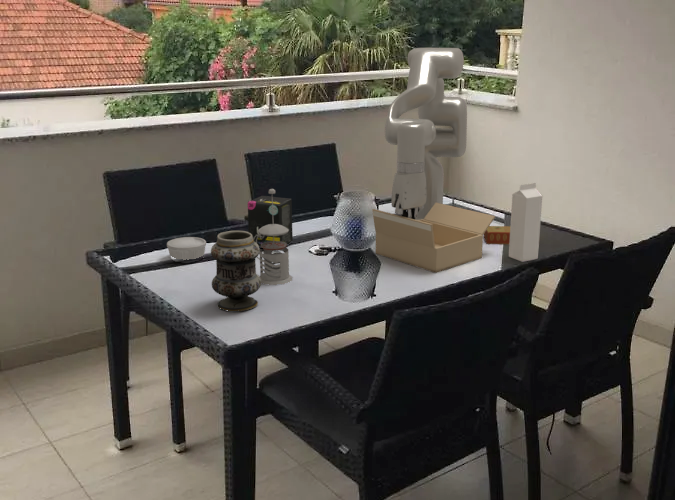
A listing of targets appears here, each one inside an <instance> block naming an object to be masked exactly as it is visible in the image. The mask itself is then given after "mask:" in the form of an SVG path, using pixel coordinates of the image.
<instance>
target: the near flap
mask: <svg viewBox="0 0 675 500" xmlns="http://www.w3.org/2000/svg"><path fill="white" fill-rule="evenodd" d="M371 211H372V218H373V225H374V230H375V231H374V232H375V233H376V232H379V233H383V234H386V235H390V236H393V237H397V238H400V239H404V240H407V241H411V242H414V243H418V244H421V245H424V246H428V247H431V248H435V242H434V233H433V224H430V223H426V222H422V221H419V220H415V219H411V218H407V217H403V216H402V215H400V214H396V213H395V214H394V213H392V212H387V211H383V210H379V209H376V208H372V209H371Z"/></svg>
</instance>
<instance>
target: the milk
mask: <svg viewBox="0 0 675 500" xmlns="http://www.w3.org/2000/svg"><path fill="white" fill-rule="evenodd" d="M536 183H537V182H532V183H524V184H520V185H519V190H517V191H516V192H514V193H512V194H511V195H512V197H511V209H510V210H511V213H510V225H509V226H510V242H509V244H508V257H509V258H511V259H514V260H517V261H519V262H522V263H523V262H527V261H528V262H529V261H533V260H538V258H539V245H540V234H541V233H540V232H541V220H542V219H541V217H542V208H543V207H542V206H543V195H542V194H541V192H540V191H539V190H538V188H537V184H536Z"/></svg>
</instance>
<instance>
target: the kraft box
mask: <svg viewBox="0 0 675 500" xmlns="http://www.w3.org/2000/svg"><path fill="white" fill-rule="evenodd" d="M419 221H422V222H426V223H430V224H433V233H434V242H435V248H431V247H428V246H424V245H421V244H418V243H414V242H411V241H407V240H404V239H400V238H397V237H393V236H390V235H386V234H383V233H379V232H376V231H375V254H376V255H378V256H382V257H385V258H388V259H390V260H394V261H398V262H400V263H404V264H406V265H409V266H413V267H415V268H420V269H423V270H425V271H429V272H432V273H434V274H438V273H441V272H442V271H443V272H444V271H447V270H449V269H451V268H452V269H453V268H455V267H458V266H461V265H464V264H467V263H471V262H473V261H477V260H479V259H483V245H484V244H483V241H484V234H483V235H481V234H477V233H474V232H470V231H466V230H462V229H458V228H454V227H450V226H446V225H442V224H438V223H434V222H431V221H427V220H423V219H421V220H419Z"/></svg>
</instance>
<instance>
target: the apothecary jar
mask: <svg viewBox="0 0 675 500" xmlns="http://www.w3.org/2000/svg"><path fill="white" fill-rule="evenodd" d="M259 253H260V248H259V246H258V244H257V243H256V242H254V240H253V236H252V234H251V233H249V232H248V231H245V230H229V231H223V232H220V233H218V234H217V237H216V243H213V245H212V247H211V249H210V254H211V257H212V258H213V259H214V260H215V263H216V275H215V276H214V277H213V278H212V280H211V288H212V290H213V291H214V292H215V293H216V294H218V295H220V296H222V297H225V298H223V299H221V300H219V302H217V308H218V307H219V308H218V309H220V308H221V309H224V310H228V311H227V312H229V311H239V312H246V311H249V309H250V310H253V309H255V308H256V307H258V304H259V303H258V300H256V299H255V298H254V297H253V296H251V295H254V294H255V293H256V292H257V291H259V290H260V288H261V286H262V284H261V279H260V277H259V276H260V275H258V274H257V270H256V269H257V263H256V259H257V257H258V256H260V255H259ZM254 307H255V308H254ZM252 308H253V309H252ZM221 309H220V310H221ZM224 310H223V311H224ZM245 310H246V311H245Z"/></svg>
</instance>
